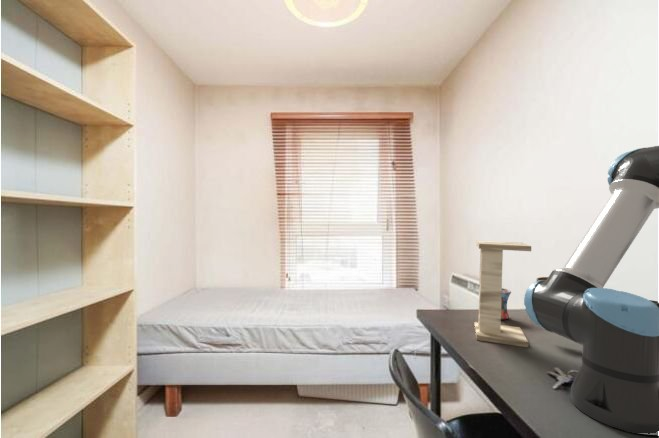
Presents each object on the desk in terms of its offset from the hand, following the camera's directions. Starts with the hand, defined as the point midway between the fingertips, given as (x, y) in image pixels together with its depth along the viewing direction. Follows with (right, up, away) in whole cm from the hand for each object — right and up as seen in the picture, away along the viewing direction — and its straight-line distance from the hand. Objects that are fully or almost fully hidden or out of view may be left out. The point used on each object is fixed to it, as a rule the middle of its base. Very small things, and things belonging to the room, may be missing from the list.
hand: (583, 299), depth 97 cm
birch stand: (-21, -14, +8) cm, 26 cm away
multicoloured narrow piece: (-11, -14, +29) cm, 34 cm away
